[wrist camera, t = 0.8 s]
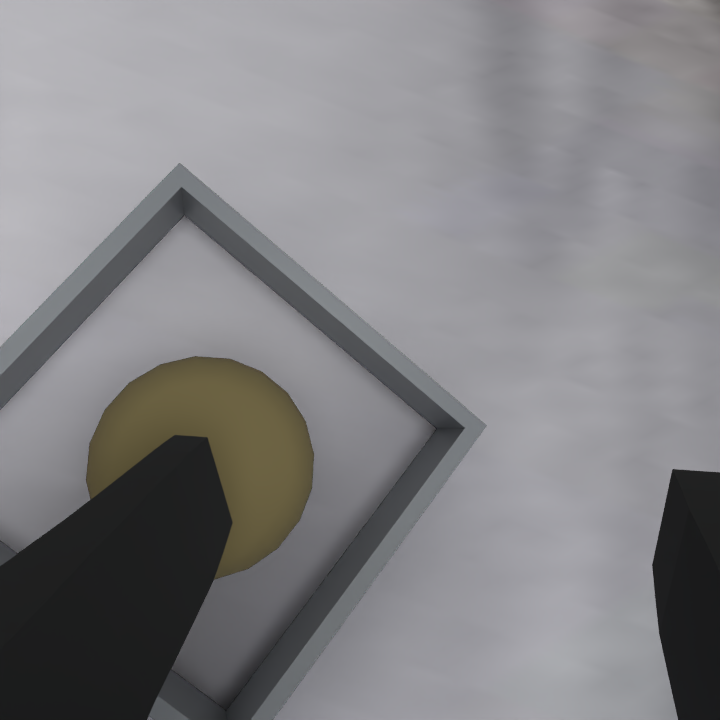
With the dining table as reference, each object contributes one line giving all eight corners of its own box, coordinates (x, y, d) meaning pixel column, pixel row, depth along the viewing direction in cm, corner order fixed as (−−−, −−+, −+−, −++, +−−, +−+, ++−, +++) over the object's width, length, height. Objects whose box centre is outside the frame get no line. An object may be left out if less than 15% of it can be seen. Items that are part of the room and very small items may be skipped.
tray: (228, 735, 24) (231, 776, 21) (-101, 489, 22) (-147, 497, 20) (456, 426, 27) (486, 425, 24) (182, 193, 26) (179, 162, 23)
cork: (92, 413, 24) (2, 395, 13) (248, 349, 26) (278, 288, 15) (158, 566, 24) (120, 671, 13) (310, 494, 26) (385, 536, 15)
